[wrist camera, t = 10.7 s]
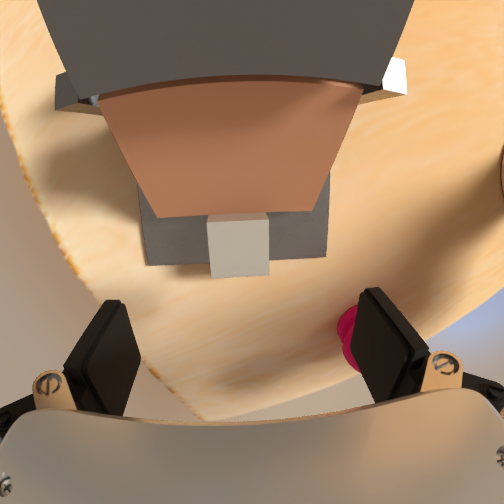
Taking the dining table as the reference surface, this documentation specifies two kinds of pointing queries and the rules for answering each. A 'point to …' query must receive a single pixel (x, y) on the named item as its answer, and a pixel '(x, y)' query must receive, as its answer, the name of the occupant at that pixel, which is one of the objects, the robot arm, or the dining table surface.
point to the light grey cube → (238, 244)
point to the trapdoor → (226, 91)
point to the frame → (195, 227)
